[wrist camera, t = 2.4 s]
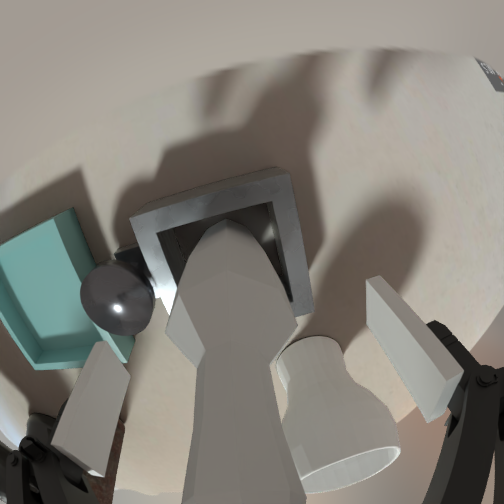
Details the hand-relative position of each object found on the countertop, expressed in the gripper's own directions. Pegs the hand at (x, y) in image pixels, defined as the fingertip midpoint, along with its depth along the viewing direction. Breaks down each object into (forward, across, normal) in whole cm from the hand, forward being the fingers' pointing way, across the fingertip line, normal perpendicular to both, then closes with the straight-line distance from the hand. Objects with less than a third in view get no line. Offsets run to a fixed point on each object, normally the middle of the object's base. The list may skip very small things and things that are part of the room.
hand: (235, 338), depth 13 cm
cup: (+12, +5, -16) cm, 21 cm away
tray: (+12, -20, 0) cm, 23 cm away
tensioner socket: (+12, -4, 0) cm, 12 cm away
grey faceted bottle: (+12, 0, 0) cm, 12 cm away
